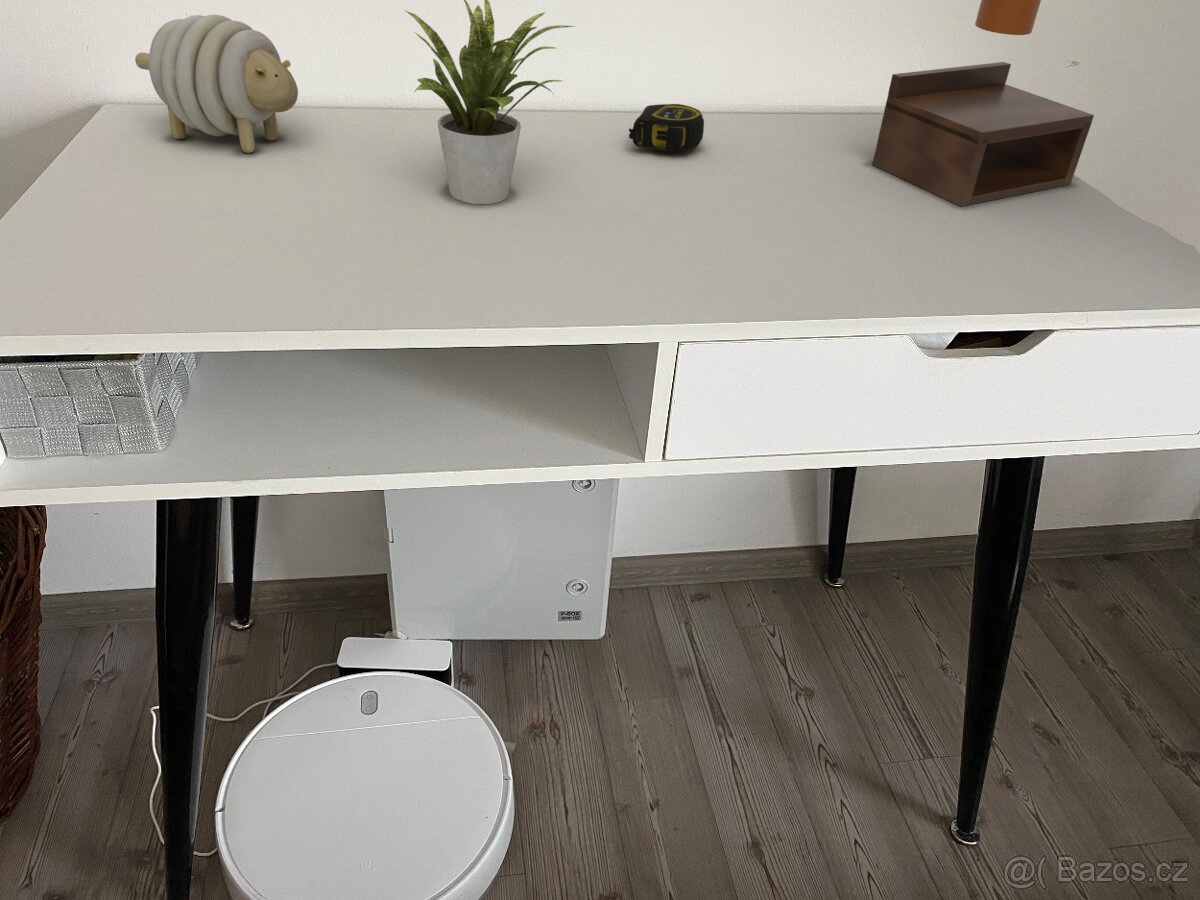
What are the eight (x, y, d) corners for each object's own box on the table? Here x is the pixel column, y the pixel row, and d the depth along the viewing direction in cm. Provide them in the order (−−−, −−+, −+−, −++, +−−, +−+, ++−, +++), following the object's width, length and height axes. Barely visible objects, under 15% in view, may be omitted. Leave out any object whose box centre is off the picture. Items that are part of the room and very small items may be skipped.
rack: (1070, 184, 102) (1101, 94, 97) (960, 206, 95) (988, 110, 90) (979, 147, 111) (1003, 61, 105) (871, 164, 103) (892, 74, 98)
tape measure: (643, 133, 107) (646, 97, 105) (707, 143, 105) (711, 106, 103) (626, 152, 101) (630, 115, 99) (693, 163, 100) (698, 125, 98)
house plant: (600, 215, 87) (614, 14, 78) (452, 240, 81) (448, 24, 72) (523, 161, 97) (528, -23, 88) (386, 179, 91) (376, -17, 82)
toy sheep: (274, 168, 91) (258, 39, 85) (109, 141, 94) (82, 14, 88) (329, 134, 100) (319, 15, 93) (176, 110, 103) (156, -8, 96)
